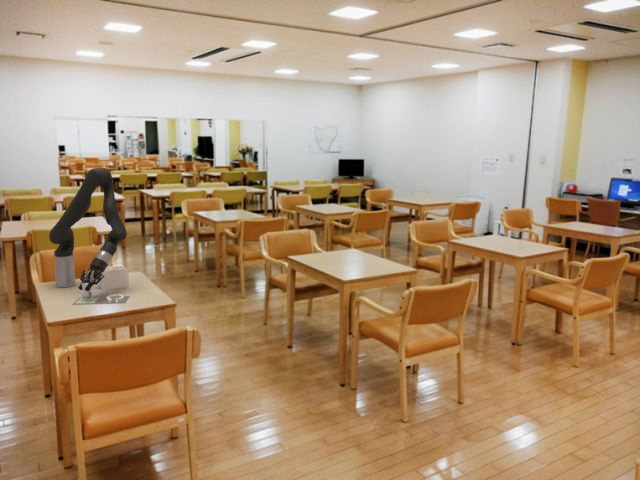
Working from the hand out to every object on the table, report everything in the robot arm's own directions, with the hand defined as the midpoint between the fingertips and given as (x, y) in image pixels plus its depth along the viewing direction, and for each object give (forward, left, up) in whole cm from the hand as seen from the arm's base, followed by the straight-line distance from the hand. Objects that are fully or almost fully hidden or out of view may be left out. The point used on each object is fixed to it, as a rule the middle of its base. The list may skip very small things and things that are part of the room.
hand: (83, 289), depth 267 cm
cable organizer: (+8, +27, -8) cm, 29 cm away
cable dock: (+8, +2, -7) cm, 11 cm away
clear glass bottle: (+1, +2, -5) cm, 5 cm away
